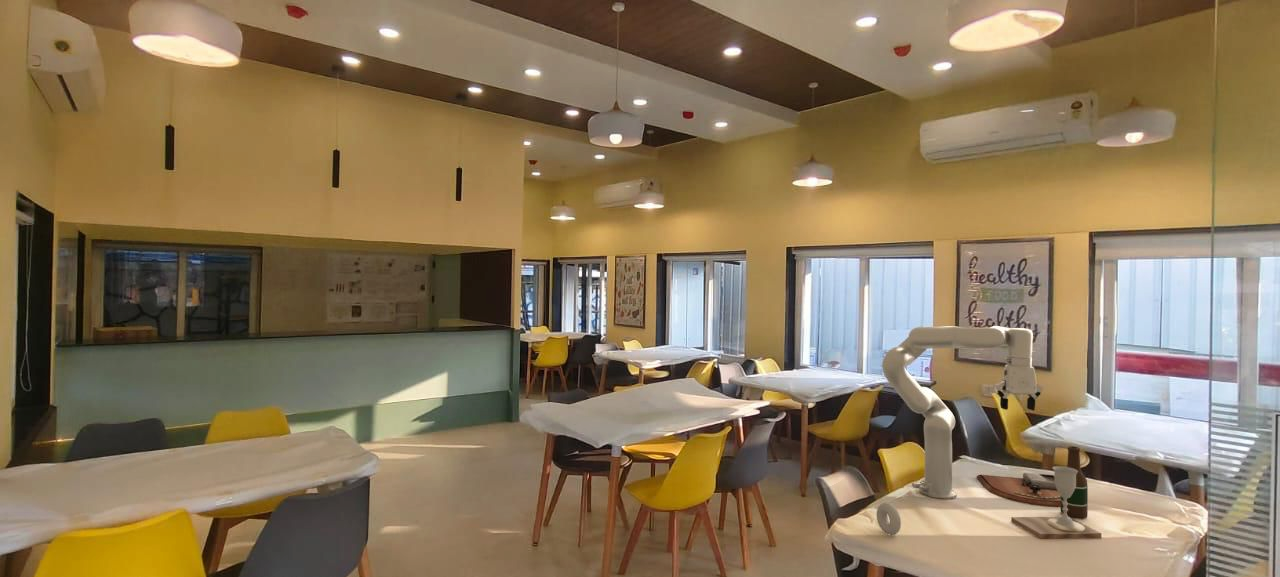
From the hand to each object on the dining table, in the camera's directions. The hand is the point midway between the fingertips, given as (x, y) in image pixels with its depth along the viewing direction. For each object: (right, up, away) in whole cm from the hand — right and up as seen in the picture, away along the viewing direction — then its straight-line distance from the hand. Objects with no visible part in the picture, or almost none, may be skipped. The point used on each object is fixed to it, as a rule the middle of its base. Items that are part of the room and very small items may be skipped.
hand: (1017, 409), depth 214 cm
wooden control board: (+16, -37, +16) cm, 43 cm away
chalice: (+3, -34, -20) cm, 40 cm away
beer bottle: (+16, -36, -7) cm, 40 cm away
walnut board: (0, -36, -19) cm, 41 cm away
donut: (-57, -36, -23) cm, 71 cm away
